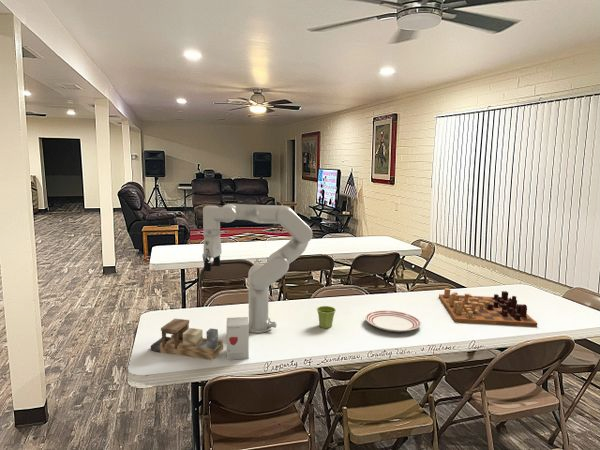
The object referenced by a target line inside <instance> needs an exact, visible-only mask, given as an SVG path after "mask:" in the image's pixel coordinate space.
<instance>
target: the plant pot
mask: <svg viewBox="0 0 600 450" xmlns="http://www.w3.org/2000/svg"><path fill="white" fill-rule="evenodd" d="M316 311H317V313H318V322H319V323H318V324H319V327H320V328H322V329H327V328H328V329H330V328H332V327H333V321H334V316H335V312H336V308H335V307H333V306H328V305H321V306H318V307H317V308H316Z"/></svg>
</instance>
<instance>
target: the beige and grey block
mask: <svg viewBox="0 0 600 450" xmlns="http://www.w3.org/2000/svg"><path fill="white" fill-rule="evenodd" d="M205 334H206V339H207V342H203V338H204V337H203V329H200V328H194V327H193V328H191V327H189V329H188V330H186V331H185V332H184V333H183V345H185V346H193V347H200V348H208V349H214V350H215V349H216V348H217V347H218V346H219V344H218V340H219V330H218V328H209V329H207V330H206V333H205Z"/></svg>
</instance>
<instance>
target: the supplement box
mask: <svg viewBox="0 0 600 450" xmlns="http://www.w3.org/2000/svg"><path fill="white" fill-rule="evenodd" d="M248 323H249V316H243V317H242V316H241V317H238V316H237V317H235V316H234V317H227V318H226V359H227V360H226V361H228V360H229V361H232V360H247V359H249V358H250V357H249V347H250V346H249V345H250V343H249V342H250V341H249V340H250V339H249V337H250V335H249V333H250V332H249V324H248Z"/></svg>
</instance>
